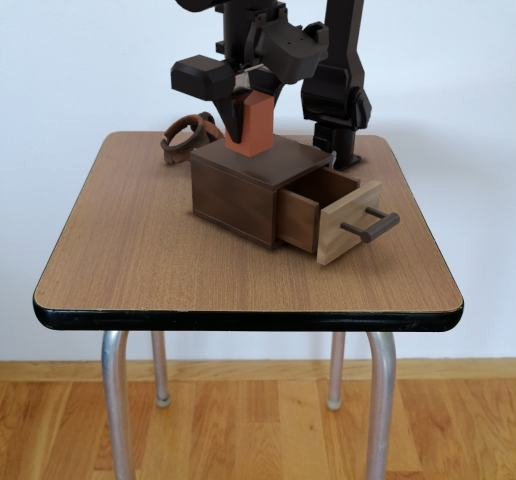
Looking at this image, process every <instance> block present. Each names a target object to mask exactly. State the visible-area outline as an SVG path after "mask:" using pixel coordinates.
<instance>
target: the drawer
mask: <svg viewBox="0 0 516 480" xmlns="http://www.w3.org/2000/svg"><path fill="white" fill-rule="evenodd" d="M382 183H383V182H382V181H379V180H376V179H372V180H370V181H368V182H367V183H364V184H363V185H361V179H360V178H358V177H355V176H353V175H350V174H347V173H344V172H343V171H341V172H339V171H337V170H334V169H331V168H329V167H326V166H322V167H320V168H318V169H316V170H314V171H312V172H310V173H308V174H307V175H305V176H303V177H301V178H299V179H297V180H295V181H293V182H291V183H289V184H287V185H285V186H284V187H282V188H280V189H278V190H277V209H276V236H275V237H277V238H279V239H282V240H284V241H286V242H285V243H288V244H290V245H292V246H295V247H297V248H299V249H301V250H304V251H306V252H308V253H310V254H313V253H314V252H317V254H316V263H318V264H320V265H323V266H326V265H328V264H329V263H331V262H332V261H334V260H335V259H338V258H339V257H340V256H341V255H343V254H344V253H346V252H348V251H350V250H351V249H352V248H354V247H355V246H356V245H358V244H360V243H363V244H367V245H368V244H370V243H372V242H374V241H375V240H376V239H377V238H379V237H381V236H382V235H384V234H385V233H386V232H388V231H390V230H391V229H393V228H394V227H396V226H397V225H399V224H400V223H401V222H400V221H401V217H400V215H399V213H397V212H395V211H393V212H390V213H385V212H383V211H381V210H379V205H380V199H381V198H380V197H381V191H382V186H383V185H382ZM377 219H379V220H377Z"/></svg>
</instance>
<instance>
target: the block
mask: <svg viewBox="0 0 516 480" xmlns="http://www.w3.org/2000/svg"><path fill="white" fill-rule="evenodd" d="M274 117H275V109H274V97H273V96H270V95H267V94H264V93H261V92H258V91H255V90H253V92H252V93H251V94H250V95H249V96H248V97H247V99H246V100H245V101H244V115H243V133H242V140H241V143H240V144H236V143H234V142H233V141H232V140H231V138H230V136H229V134H228V132H227V129H226V127H225V126H224V134H225V135H224V137H225V146H226V148H228V149H231V150H233V151H236V152H238V153H241V154H243V155H246V156H248V157H252V156H254V155H256V154H259V153H261V152H263V151H265V150H267V149H270V148H272V147H273V133H274Z"/></svg>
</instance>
